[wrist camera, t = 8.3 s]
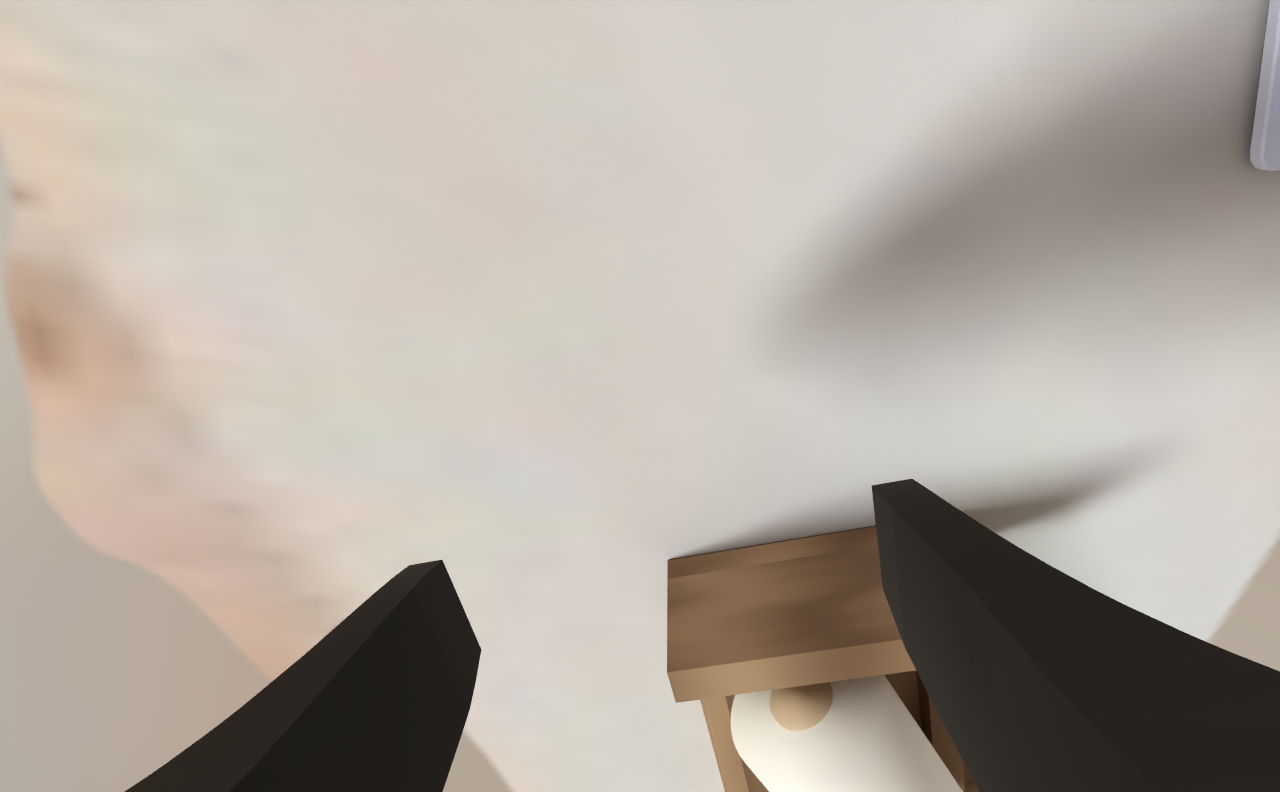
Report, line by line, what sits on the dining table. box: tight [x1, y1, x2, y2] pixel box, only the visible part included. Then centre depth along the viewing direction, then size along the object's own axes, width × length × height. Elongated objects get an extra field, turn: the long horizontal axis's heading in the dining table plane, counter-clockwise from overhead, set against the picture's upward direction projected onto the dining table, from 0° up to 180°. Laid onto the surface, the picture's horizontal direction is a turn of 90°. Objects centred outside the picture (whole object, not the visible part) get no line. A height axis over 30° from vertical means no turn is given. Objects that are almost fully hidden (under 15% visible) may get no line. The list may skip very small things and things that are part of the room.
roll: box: [731, 675, 963, 792], centre depth 20 cm, size 5×8×5 cm, turn 33°
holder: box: [667, 526, 979, 792], centre depth 22 cm, size 10×13×5 cm
